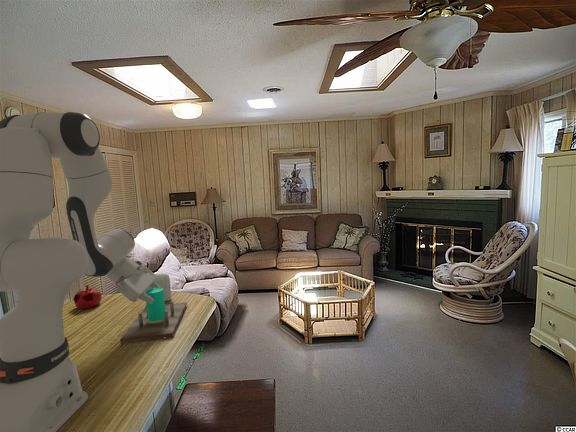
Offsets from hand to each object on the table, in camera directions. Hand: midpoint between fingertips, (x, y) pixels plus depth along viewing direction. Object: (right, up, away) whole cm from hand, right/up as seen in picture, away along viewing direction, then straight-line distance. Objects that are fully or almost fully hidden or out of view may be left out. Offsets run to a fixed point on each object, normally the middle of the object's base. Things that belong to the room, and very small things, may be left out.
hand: (157, 297), depth 108 cm
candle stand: (0, -10, +1) cm, 10 cm away
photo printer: (-8, -8, +21) cm, 24 cm away
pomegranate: (-39, -10, +20) cm, 45 cm away
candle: (0, -8, +1) cm, 8 cm away
